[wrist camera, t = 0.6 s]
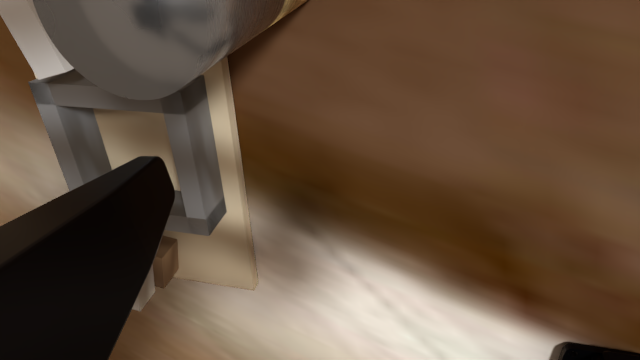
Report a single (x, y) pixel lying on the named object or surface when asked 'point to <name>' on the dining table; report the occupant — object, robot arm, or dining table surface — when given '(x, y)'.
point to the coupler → (153, 38)
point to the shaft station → (152, 140)
